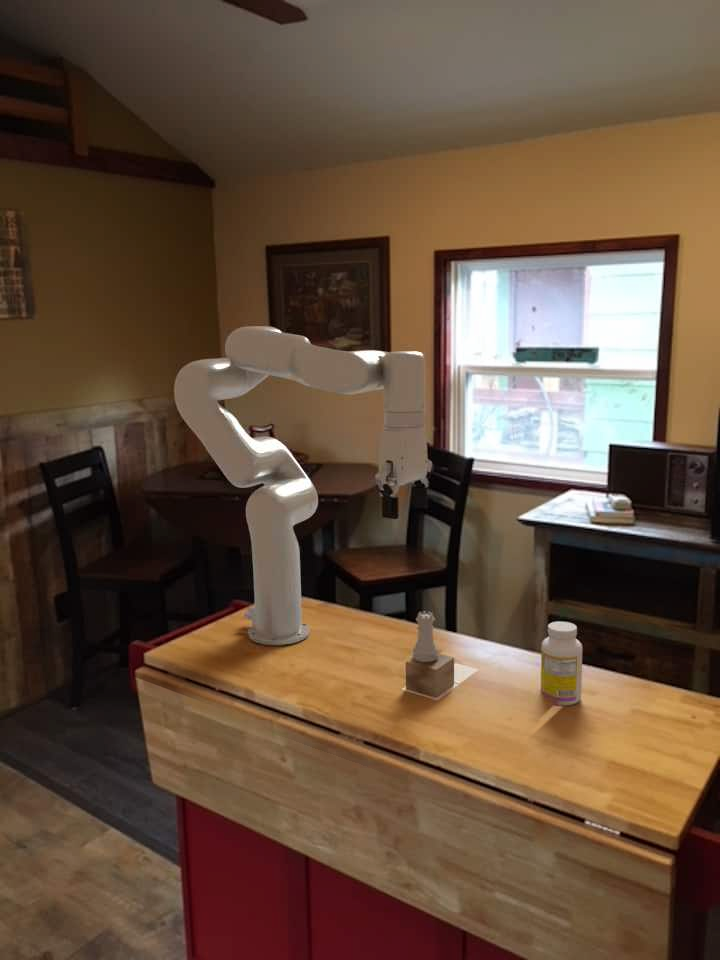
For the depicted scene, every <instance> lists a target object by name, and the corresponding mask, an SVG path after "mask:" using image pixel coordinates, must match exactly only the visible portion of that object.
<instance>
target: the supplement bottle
mask: <svg viewBox="0 0 720 960" xmlns="http://www.w3.org/2000/svg"><path fill="white" fill-rule="evenodd" d="M547 633H548V636H547V637H545V638H544V639H543V640H542V643H541V649H540V650H541V653H540V654H541V658H540V660H541V663H540V665H541V666H540V667H541V669H540V692H541V693H542V695H544V696H546V697H548V698H549V699H553V700H557V701H556V702H555V703H554V705H556V706H561V707H563V706H564V707H565V706H573V705H575V704H577V703H579V702H580V700H581V698H582V683H583V682H582V679H583V677H582V676H583V675H582V673H583V669H582V668H583V644H582V643H581V641H580V640H578V639H577V635H578V627H577V625H576V624H575V623H573V622H569V621H552V622H550V623H549V624H548V625H547Z"/></svg>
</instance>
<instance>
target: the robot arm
mask: <svg viewBox="0 0 720 960" xmlns="http://www.w3.org/2000/svg"><path fill="white" fill-rule="evenodd" d="M224 349H225V351H224V352H225V355H226V357H221V358H220V357H219V358H206V359H199V360H195V361H191V362H188V364H187V363H186V365H184V366H183V367H181V369H180V370H179V372H178V373H177V376H176V378H175V381H174V387H173V395H174V402H175V405H176V409H177V410H178V412H179V415H180V417H181V418H182V419H183V420H184V422H185V423H186V425H187V426H188V427H189V428H190V430H191V431H192V432H193V433H194V434H195V435H196V437H197V438H198V439H199V441H201V443H202V444H203V446H204V448H205V450H206V451H207V452H208V454H209V455H210V456H211V458H212V460H214V462H215V463H216V465H217V466H218V468H219V469H220V471H221V472H222V473H223V475H224V476H225V477H226V479H227V480H228V481H229V482H230V483H231V485H233V486H234V487H237V488H243V489H245V488H250V487H254V486H257V485H261V484H263V486H261V487H259V488H258V489H256V490H255V491H254V492H252V493H251V495H250V496H249V497H248V500H247V502H246V505H245V518H246V522H247V525H248V531H249V536H250V541H251V554H252V555H251V556H252V569H253V573H252V574H253V592H254V594H253V596H254V606H249V607H248V608H247V611H245V613H244V614H243V618H244V620H249V621H251V627H250V628H249V629H248V632H247V633H248V638H249V639H250V640H251V641H252V642H254V643H256V644H259V643H260V645H264V646H286V644H287V645H290V644H291V645H292V644H296V643H299V642H301V641H302V640H304V639H306V638H307V637H308V636H309V635H310V633H311V632H310V631H311V630H310V629H311V628H310V626H309V624H308V623H307V622H305V621H303V618H302V617H303V614H302V584H301V583H302V582H301V560H300V559H301V557H300V555H301V554H300V546H299V542H298V539H297V536H296V534H295V531H294V526H295V525H297V524H299V523H301V522H304V521H306V520H308V519H309V518H311V517H312V516H313V515H314V513H316V510H317V508H318V506H319V505H318V504H319V497H318V491H317V490H316V487H315V485H314V484H313V482H312V480H311V479H310V477H309V476H308V475H307V474H306V472H305V471H304V470H303V468H302V467H301V465H300V464H299V462H298V461H297V459H295V457H294V456H293V454H292V453H291V452H290V450H289V448H288V447H287V446H286V445H285V444H283V443H282V442H281V441H280V440H278V439H276V438H275V437H271V436H266V435H265V436H256V437H251V435H249V434H248V433H247V432H246V430H245V429H244V428H243V426H242V425H241V423H240V422H239V420H238V419H237V418H236V417H235V416H234V415H233V414H232V413H231V412H230V411H229V410H227V409H226V408H225V407H223V406H222V405H221V404H220V403H219V402H218V401H222V400H228V399H229V400H230V399H235V398H239V397H242V396H243V395H246V394H247V393H248V392H250V391H251V390H252V389H254V388H255V387H256V386H258V384H260V383H262V381H264V380H265V379H266V378H268V377H269V376H272V377H273V376H274V377H278V378H281V379H282V378H283V379H287V380H292V381H295V382H297V383H298V384H299V383H300V384H301V385H304V386H307V387H310V388H313V389H318V390H321V391H322V390H323V391H327V392H331V393H332V392H333V393H338V394H344V395H357V394H361V393H368V392H375V391H379V390H380V391H381V390H382V391H383V395H382V396H383V429H382V431H381V436H380V442H379V451H378V452H379V454H378V456H379V457H378V471H377V473H376V474H375V476H374V479H375V482H376V485H377V490H378V491H379V497H381V516H382V517H383V518H384V519H392V520H397V519H399V518H400V517H399V497H398V496H397V494H398V492H399V489H400V487H401V486H404V485H408V484H411V483H412V486H411V488H410V489H411V491H410V495H411V497H410V498H411V503H410V504H411V507H412V508H415V509H422V510H425V509H427V508H428V487H429V484H430V483H429V480H430V477H431V470H432V468H433V462H432V460H430V459H429V458H428V444H427V435H426V434H427V433H426V359H425V355H424V354H423V353H422V352H419V351H412V350H411V351H410V350H409V351H408V350H405V351H389V352H388V351H383V350H375V349H365V350H362V349H361V350H353V351H348V350H347V351H346V350H339V349H335V348H329V347H322V346H317V345H315V344H312V343H311V342H310V340H309V339H308V338H307V337H306V336H304V335H299V334H293V333H288V332H283V331H281V330H280V329H278V328H277V327H273V326H268V325H266V326H264V325H263V326H261V325H260V326H259V325H258V326H257V325H255V326H253V325H251V326H250V325H249V326H241V327H239V328H236V329H234V330H233V331H232V332H231V333H230V334H229V335H228V336H227V338H226V340H225V344H224ZM391 486H392V487H391Z"/></svg>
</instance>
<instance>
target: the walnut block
mask: <svg viewBox="0 0 720 960" xmlns="http://www.w3.org/2000/svg"><path fill="white" fill-rule="evenodd" d="M437 654H438V656H439V657H438V658H437V659H436V661H434V662H430V663H421V662H418V661H416V660H415V659H414V658H413V656H412V657H411V658H409V659H406V661H405V686H406V689H408V690H411V691H414V692H418V693H421V694H424V695H428V696H431V697H435V698H437V697H438V696H439V695H441V694H442V693H444V692H445V691H446V690H448V689H449V688H451V687H452V686H453V685H454V663H455V657H453V656H450V655H446V654H442V653H437Z"/></svg>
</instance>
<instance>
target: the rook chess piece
mask: <svg viewBox="0 0 720 960" xmlns="http://www.w3.org/2000/svg"><path fill="white" fill-rule="evenodd" d="M415 621H416V622H417V625H418V626H417V630H418V631H417V633H418V634H417V640H416V643H415V646H414V647H413V649H412V653H413V654H412V657H413V658H414V659H415V660H416V661H418V662H421V663H430V662H434V661H436V659H437V658H438V657H439V656H438V654H439V653H438V652H439V650H438V647H437V646H436V643H435V640H434V635H433V630H434V628H435V627H434V626H433V623H434V622H435V621H436V618H435V617H434V613H433V612H431V611H428V612H427V611H419V612H418V613H417V617H416V618H415ZM437 653H438V654H437Z"/></svg>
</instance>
